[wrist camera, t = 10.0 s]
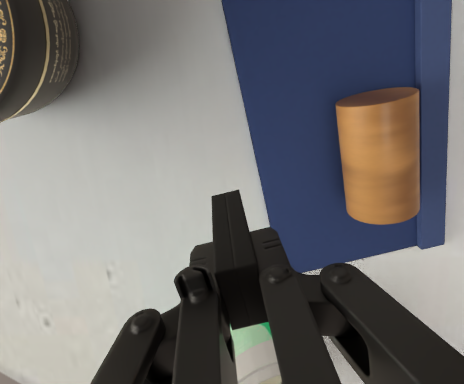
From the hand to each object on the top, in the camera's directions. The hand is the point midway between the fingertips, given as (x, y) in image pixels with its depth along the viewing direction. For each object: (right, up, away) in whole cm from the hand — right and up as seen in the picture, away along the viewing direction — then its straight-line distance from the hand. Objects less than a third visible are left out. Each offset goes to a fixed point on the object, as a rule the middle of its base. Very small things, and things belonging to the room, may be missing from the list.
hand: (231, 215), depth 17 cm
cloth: (+9, +5, +6) cm, 12 cm away
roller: (+10, +4, +4) cm, 11 cm away
